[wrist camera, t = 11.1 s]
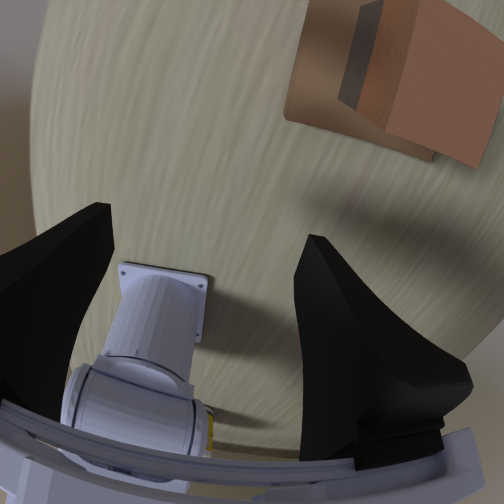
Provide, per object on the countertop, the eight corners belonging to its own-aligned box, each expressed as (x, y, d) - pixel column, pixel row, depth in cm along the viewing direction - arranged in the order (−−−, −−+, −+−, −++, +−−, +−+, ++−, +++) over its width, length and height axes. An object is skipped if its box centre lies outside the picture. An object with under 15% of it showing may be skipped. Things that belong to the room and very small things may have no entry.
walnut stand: (417, 152, 19) (430, 162, 17) (282, 112, 18) (285, 119, 16) (453, 30, 13) (470, 31, 11) (316, -29, 12) (323, -37, 10)
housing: (435, 39, 12) (513, 51, 6) (410, 123, 16) (476, 169, 10) (360, 5, 11) (422, -12, 6) (337, 98, 15) (384, 131, 9)
